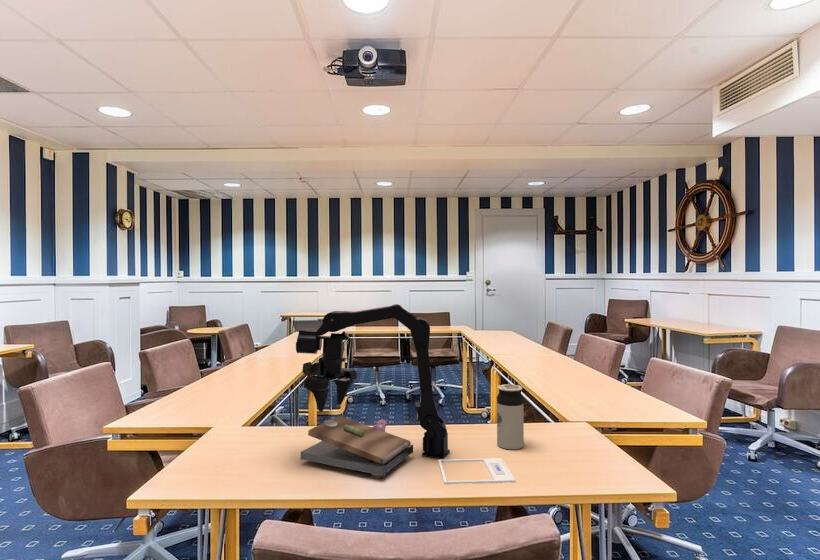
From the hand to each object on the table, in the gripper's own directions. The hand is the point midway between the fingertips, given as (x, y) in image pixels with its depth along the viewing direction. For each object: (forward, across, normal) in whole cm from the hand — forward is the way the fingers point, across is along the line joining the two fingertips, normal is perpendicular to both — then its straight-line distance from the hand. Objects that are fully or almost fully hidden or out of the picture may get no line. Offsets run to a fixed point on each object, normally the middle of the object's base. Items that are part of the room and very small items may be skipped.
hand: (330, 407), depth 134 cm
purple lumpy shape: (+14, -19, +6) cm, 24 cm away
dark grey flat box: (+13, 0, +10) cm, 17 cm away
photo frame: (+12, -7, +42) cm, 44 cm away
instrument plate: (+8, 0, +11) cm, 13 cm away
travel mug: (+12, -30, +46) cm, 56 cm away
